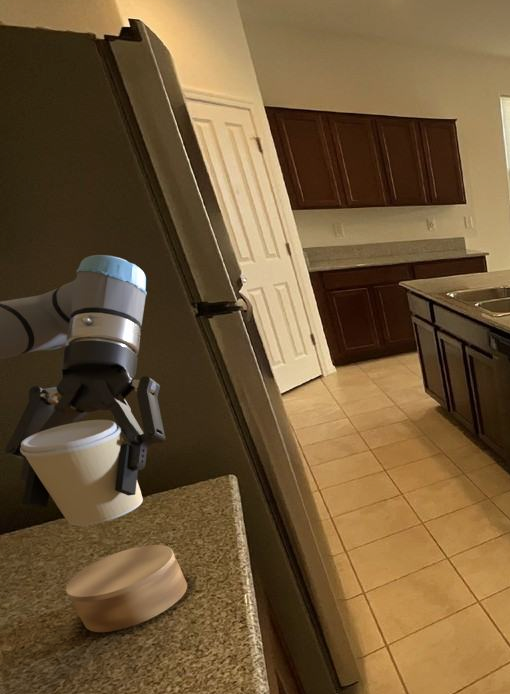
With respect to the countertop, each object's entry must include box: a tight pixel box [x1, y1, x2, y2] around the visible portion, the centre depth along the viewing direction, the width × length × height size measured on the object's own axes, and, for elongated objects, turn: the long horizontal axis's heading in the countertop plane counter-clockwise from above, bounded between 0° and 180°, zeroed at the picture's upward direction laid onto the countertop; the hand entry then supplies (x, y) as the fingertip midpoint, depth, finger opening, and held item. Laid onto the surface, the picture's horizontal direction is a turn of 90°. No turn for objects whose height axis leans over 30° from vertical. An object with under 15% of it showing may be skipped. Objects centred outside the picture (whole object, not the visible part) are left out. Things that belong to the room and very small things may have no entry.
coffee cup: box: [20, 419, 144, 527], centre depth 71 cm, size 9×9×12 cm
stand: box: [64, 544, 188, 633], centre depth 73 cm, size 11×11×6 cm
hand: (80, 498), depth 69 cm, fingers closed on coffee cup, 9 cm apart
